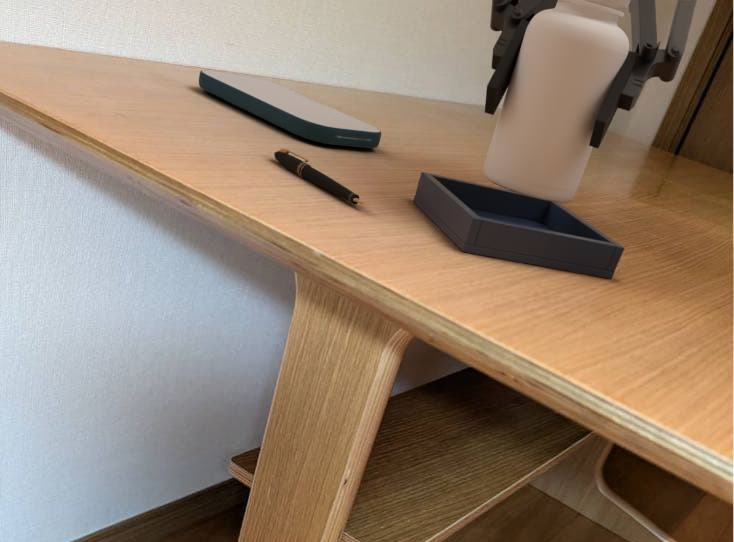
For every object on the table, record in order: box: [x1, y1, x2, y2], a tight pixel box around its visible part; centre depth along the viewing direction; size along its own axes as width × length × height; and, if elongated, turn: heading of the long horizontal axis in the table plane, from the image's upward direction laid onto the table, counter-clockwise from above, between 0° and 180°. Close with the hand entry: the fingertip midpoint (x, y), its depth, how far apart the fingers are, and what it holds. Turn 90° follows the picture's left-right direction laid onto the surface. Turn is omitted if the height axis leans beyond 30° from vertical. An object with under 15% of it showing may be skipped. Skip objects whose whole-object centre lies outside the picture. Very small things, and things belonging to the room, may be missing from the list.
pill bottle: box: [482, 0, 630, 203], centre depth 64 cm, size 8×8×15 cm
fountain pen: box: [273, 148, 368, 206], centre depth 70 cm, size 14×1×2 cm, turn 35°
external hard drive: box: [198, 69, 382, 149], centre depth 93 cm, size 24×12×2 cm, turn 40°
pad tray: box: [412, 171, 625, 280], centre depth 70 cm, size 14×14×3 cm
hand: (543, 117), depth 62 cm, fingers closed on pill bottle, 8 cm apart
